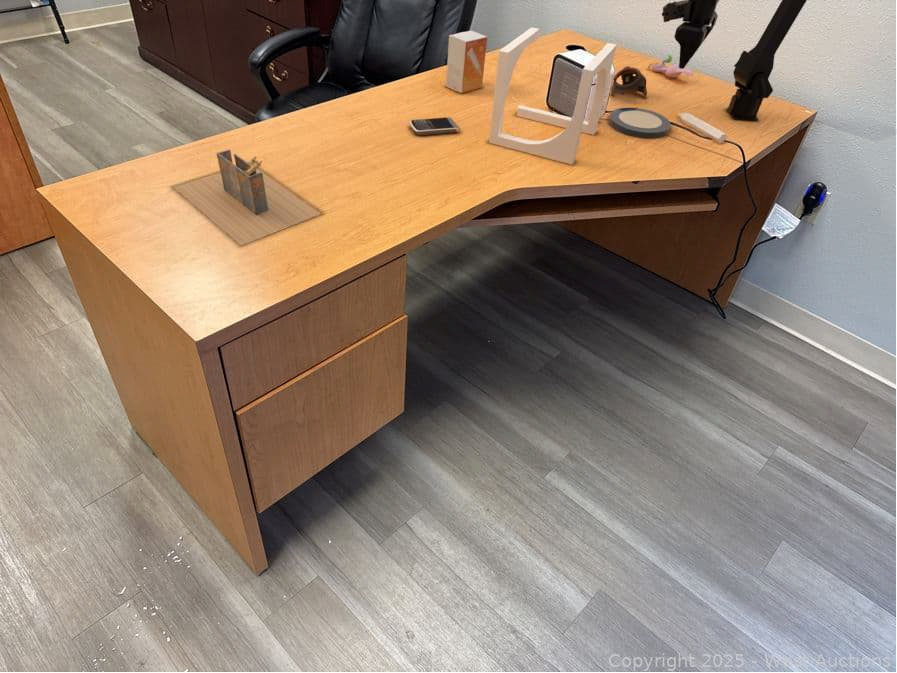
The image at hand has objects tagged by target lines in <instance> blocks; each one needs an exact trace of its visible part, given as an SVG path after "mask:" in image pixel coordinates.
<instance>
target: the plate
mask: <svg viewBox="0 0 897 673" xmlns="http://www.w3.org/2000/svg"><path fill="white" fill-rule="evenodd" d="M608 124H609V125H610V127H611V128H613V129H614V130H615V131H617V132H620V133H622V134H624V135H627V136H631V137H635V138H641V139H657V138H662V137H665V136H667V135H668V134H669V132H670V129H671V126H672V124H671V122H670V120H669V119H668V118H667V117H666V116H664V115H662V114H661V113H658V112H656V111H652V110H649V109H645V108H639V107H620V108H616V109H614V110H612V111H611V112H610V113H609V117H608Z"/></svg>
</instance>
